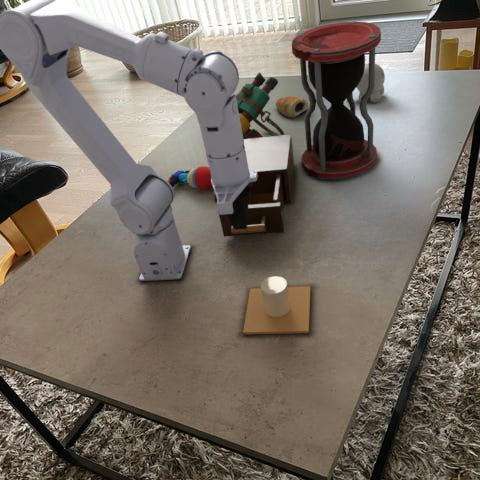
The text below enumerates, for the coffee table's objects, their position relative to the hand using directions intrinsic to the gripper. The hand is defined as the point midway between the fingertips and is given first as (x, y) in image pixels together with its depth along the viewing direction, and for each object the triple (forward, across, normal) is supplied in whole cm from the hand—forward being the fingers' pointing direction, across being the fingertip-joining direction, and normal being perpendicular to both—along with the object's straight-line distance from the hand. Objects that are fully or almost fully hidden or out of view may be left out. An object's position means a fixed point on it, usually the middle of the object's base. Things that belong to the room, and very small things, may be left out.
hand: (240, 226), depth 80 cm
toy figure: (+9, +30, +16) cm, 35 cm away
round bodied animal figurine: (+9, +67, -22) cm, 71 cm away
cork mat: (+9, -11, -6) cm, 15 cm away
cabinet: (+9, +27, 0) cm, 28 cm away
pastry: (+9, +64, -4) cm, 65 cm away
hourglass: (+9, +35, -16) cm, 39 cm away
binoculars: (+9, +47, +4) cm, 48 cm away
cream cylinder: (+8, -11, -6) cm, 15 cm away
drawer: (+8, +13, 0) cm, 15 cm away
